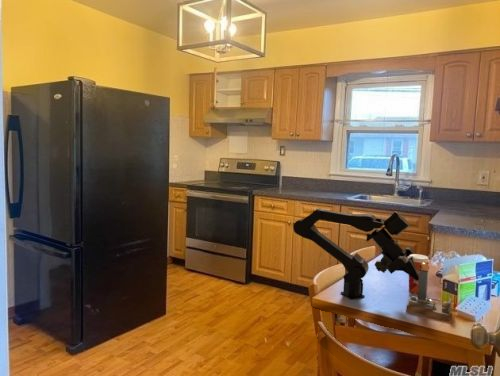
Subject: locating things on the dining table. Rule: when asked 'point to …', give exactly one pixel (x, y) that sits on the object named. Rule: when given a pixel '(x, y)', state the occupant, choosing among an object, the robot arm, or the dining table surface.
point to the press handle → (423, 285)
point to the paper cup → (417, 260)
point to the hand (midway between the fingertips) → (418, 279)
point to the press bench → (430, 309)
